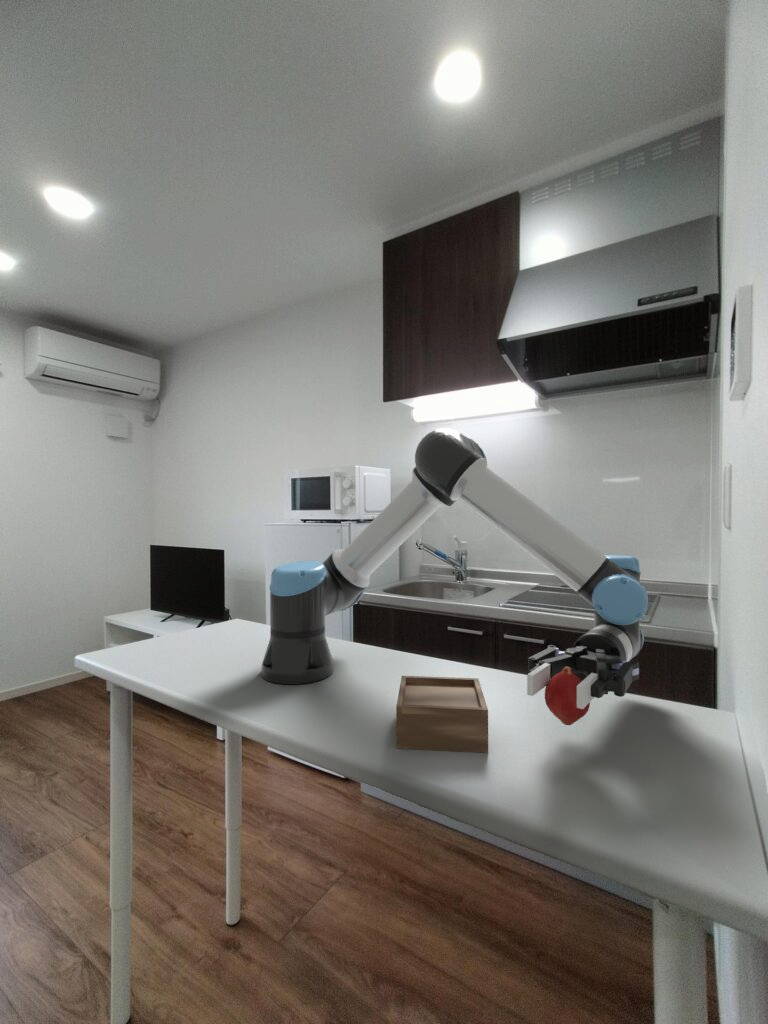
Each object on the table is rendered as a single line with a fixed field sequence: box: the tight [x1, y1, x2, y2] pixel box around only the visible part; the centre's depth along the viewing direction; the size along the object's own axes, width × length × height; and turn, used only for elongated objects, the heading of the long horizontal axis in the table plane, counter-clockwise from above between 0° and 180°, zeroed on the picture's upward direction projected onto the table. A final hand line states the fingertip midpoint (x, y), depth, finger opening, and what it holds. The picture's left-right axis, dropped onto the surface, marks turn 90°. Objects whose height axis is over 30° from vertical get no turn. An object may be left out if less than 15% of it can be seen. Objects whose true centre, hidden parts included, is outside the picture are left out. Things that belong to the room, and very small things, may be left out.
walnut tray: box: [395, 675, 489, 754], centre depth 71 cm, size 13×13×6 cm
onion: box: [544, 667, 591, 726], centre depth 63 cm, size 6×6×8 cm
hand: (554, 691), depth 59 cm, fingers closed on onion, 6 cm apart
